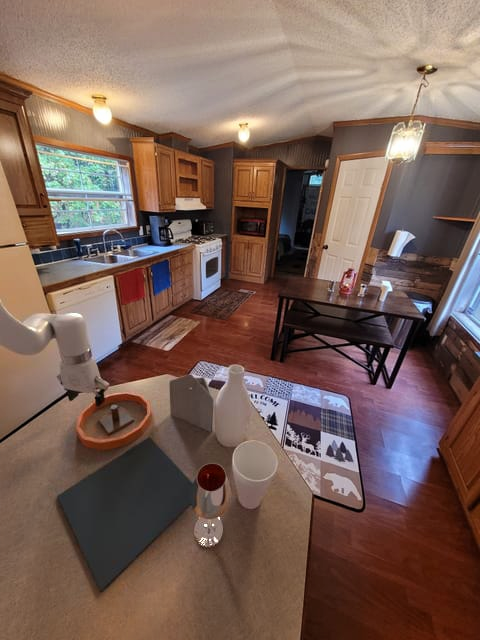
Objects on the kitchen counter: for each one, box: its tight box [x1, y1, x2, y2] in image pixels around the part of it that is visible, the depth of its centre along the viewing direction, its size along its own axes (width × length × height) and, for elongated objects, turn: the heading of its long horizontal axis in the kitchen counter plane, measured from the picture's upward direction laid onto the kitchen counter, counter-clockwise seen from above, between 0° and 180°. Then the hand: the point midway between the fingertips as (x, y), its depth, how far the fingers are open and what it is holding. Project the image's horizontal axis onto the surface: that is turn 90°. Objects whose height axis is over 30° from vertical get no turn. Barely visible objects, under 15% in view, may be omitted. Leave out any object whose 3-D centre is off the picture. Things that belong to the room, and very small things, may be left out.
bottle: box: [213, 363, 252, 448], centre depth 75 cm, size 11×11×25 cm
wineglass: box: [190, 462, 232, 548], centre depth 52 cm, size 8×8×18 cm
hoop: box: [74, 391, 152, 452], centre depth 81 cm, size 21×21×3 cm
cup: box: [231, 439, 279, 510], centre depth 61 cm, size 10×10×14 cm
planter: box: [168, 373, 215, 433], centre depth 83 cm, size 16×8×19 cm, turn 65°
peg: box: [97, 404, 135, 436], centre depth 80 cm, size 8×8×6 cm
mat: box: [56, 436, 193, 593], centre depth 61 cm, size 24×24×1 cm
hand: (87, 400), depth 81 cm, fingers open, 9 cm apart
